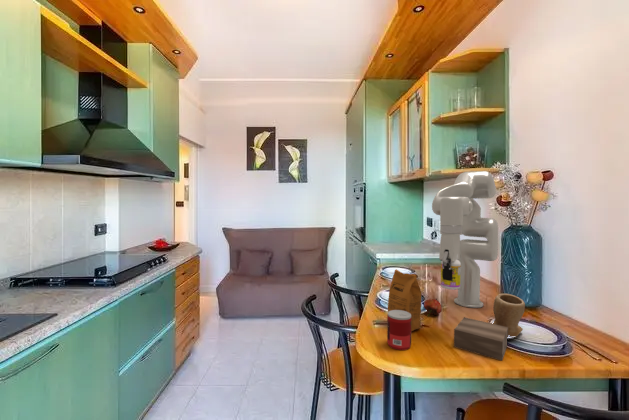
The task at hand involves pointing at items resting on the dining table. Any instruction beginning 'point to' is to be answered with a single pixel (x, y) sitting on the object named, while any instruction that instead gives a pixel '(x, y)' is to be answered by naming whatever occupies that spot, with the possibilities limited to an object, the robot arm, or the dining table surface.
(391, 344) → the canned food
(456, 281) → the supplement bottle
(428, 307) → the pomegranate
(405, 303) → the coffee package
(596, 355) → the dining table surface
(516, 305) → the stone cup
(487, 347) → the block
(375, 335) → the dining table surface
